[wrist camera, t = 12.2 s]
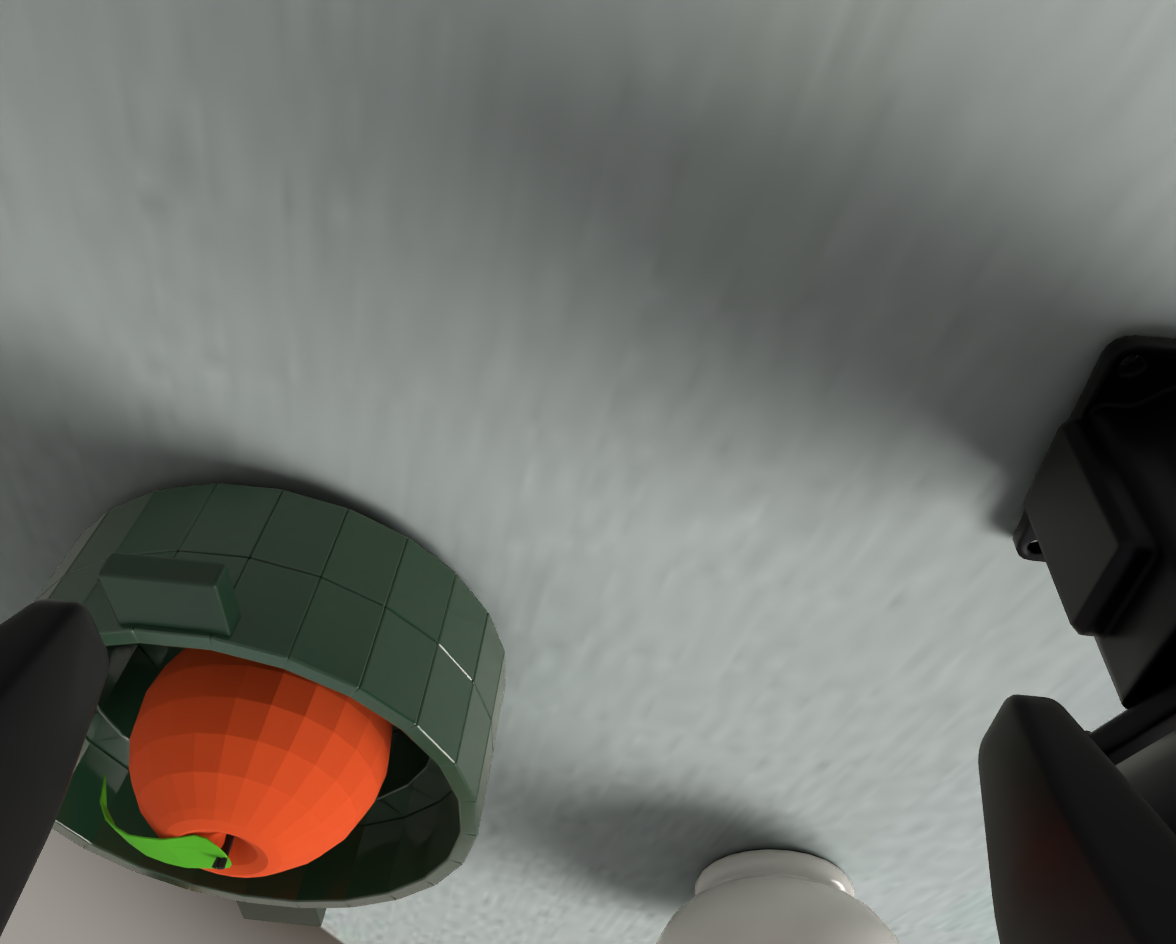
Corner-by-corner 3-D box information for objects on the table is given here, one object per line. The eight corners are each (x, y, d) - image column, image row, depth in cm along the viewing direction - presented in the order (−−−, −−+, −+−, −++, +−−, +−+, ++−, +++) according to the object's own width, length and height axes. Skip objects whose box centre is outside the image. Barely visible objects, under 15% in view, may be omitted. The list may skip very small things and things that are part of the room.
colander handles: (227, 561, 20) (215, 585, 20) (327, 906, 31) (321, 927, 31) (110, 550, 21) (95, 574, 20) (250, 898, 31) (242, 919, 31)
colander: (506, 496, 25) (469, 663, 21) (508, 772, 34) (483, 928, 29) (10, 449, 25) (-124, 604, 21) (141, 734, 34) (64, 883, 30)
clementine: (216, 715, 32) (121, 928, 27) (117, 574, 27) (-22, 796, 22) (442, 707, 31) (389, 931, 25) (376, 559, 26) (294, 791, 21)
